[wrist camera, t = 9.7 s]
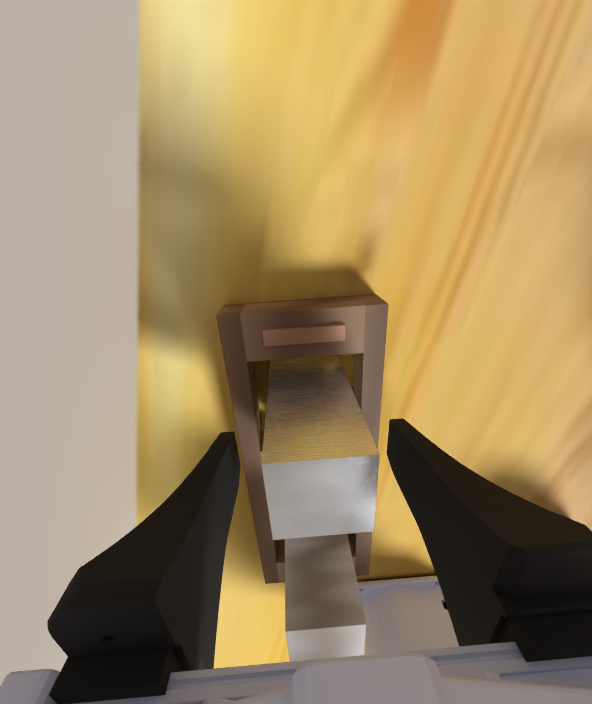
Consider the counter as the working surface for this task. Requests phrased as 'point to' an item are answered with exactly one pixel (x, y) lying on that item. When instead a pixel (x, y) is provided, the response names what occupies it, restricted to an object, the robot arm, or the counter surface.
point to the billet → (317, 452)
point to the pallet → (239, 353)
